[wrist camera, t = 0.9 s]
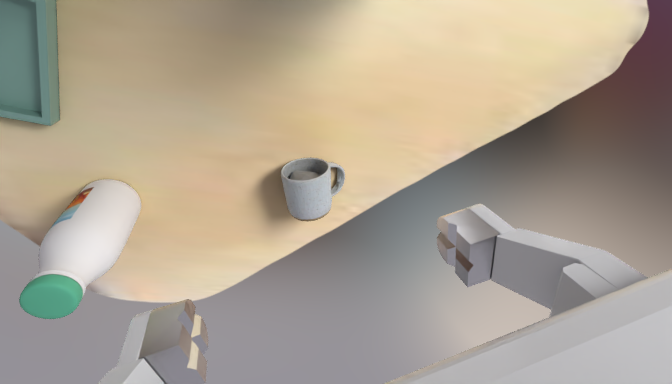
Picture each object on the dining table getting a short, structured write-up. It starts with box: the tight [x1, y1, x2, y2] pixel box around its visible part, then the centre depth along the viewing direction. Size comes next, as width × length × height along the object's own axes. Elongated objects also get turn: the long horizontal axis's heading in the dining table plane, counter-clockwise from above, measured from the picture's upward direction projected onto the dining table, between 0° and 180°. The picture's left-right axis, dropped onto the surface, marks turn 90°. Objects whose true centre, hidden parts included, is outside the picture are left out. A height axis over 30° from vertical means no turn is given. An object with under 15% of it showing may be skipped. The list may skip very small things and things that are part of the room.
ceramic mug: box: [281, 158, 345, 221], centre depth 52 cm, size 11×8×8 cm
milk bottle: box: [19, 179, 141, 319], centre depth 39 cm, size 8×8×20 cm
